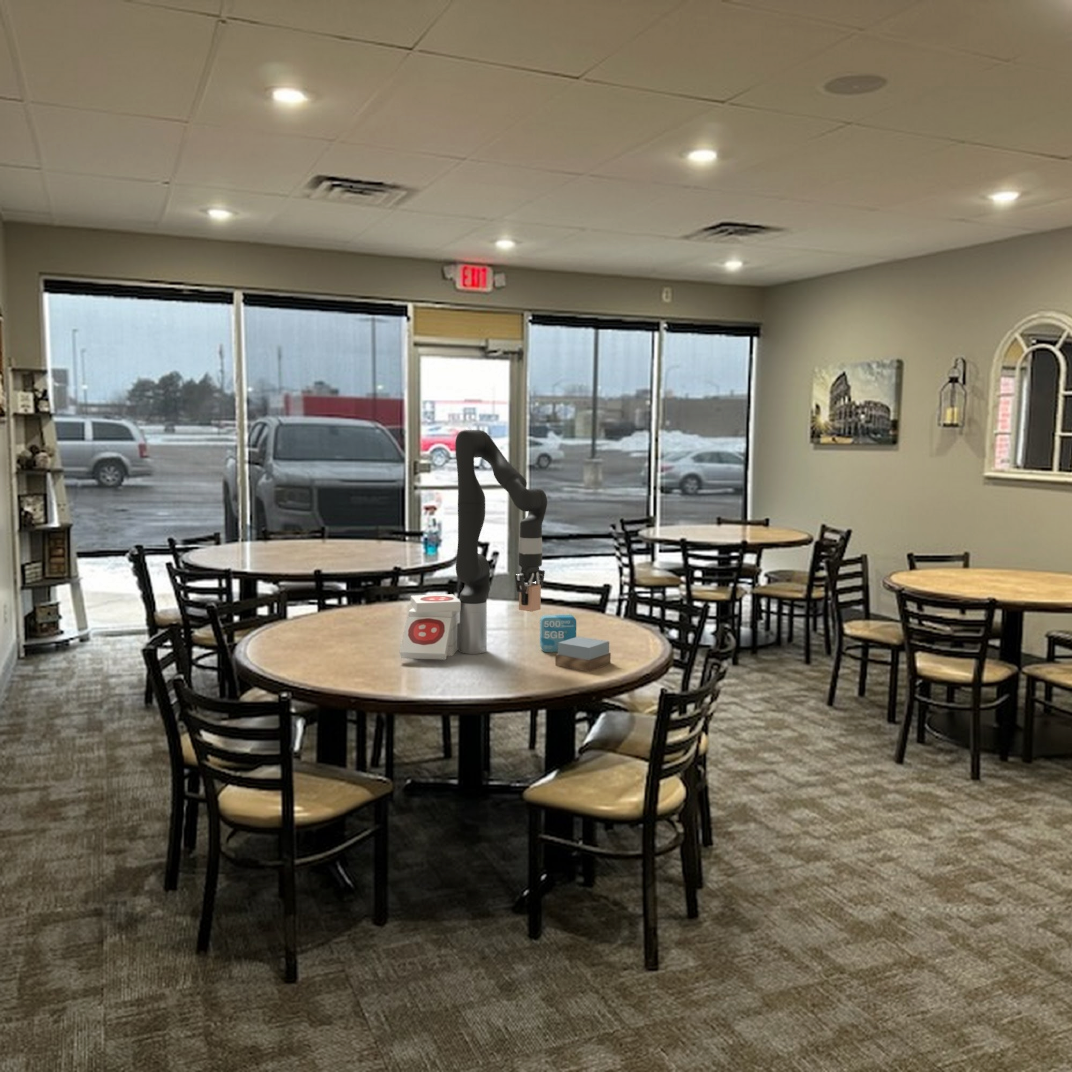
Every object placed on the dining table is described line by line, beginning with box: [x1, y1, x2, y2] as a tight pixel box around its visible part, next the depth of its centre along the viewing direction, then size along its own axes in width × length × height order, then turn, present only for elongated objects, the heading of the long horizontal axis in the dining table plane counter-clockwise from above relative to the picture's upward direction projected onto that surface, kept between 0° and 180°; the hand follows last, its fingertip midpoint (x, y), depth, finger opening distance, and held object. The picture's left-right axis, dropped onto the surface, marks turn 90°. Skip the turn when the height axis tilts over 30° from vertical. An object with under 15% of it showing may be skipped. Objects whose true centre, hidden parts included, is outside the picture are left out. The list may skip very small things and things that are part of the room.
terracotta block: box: [518, 583, 542, 613], centre depth 306 cm, size 5×5×8 cm
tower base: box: [554, 652, 612, 672], centre depth 309 cm, size 13×13×4 cm
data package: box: [539, 614, 577, 653], centre depth 328 cm, size 12×4×12 cm, turn 96°
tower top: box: [557, 636, 610, 660], centre depth 308 cm, size 12×12×4 cm
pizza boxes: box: [399, 593, 461, 660], centre depth 321 cm, size 19×30×18 cm, turn 175°
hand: (529, 603), depth 306 cm, fingers closed on terracotta block, 5 cm apart
